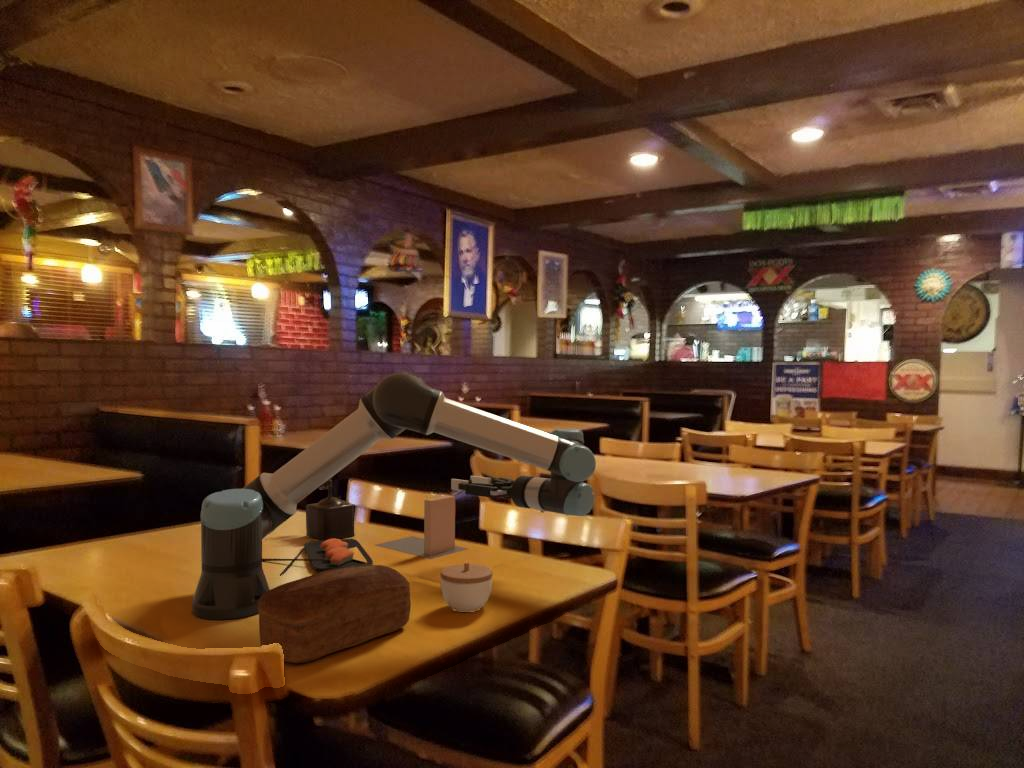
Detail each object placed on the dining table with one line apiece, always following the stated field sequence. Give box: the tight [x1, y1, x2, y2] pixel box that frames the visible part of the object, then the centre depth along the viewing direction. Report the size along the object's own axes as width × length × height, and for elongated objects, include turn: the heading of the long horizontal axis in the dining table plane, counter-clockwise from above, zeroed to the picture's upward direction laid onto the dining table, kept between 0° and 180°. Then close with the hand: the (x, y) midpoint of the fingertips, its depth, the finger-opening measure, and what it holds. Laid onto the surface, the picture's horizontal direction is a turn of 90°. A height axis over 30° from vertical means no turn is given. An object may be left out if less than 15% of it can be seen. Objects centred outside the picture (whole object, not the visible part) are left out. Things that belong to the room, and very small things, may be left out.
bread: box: [258, 564, 412, 664], centre depth 134 cm, size 14×28×12 cm, turn 140°
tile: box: [423, 495, 456, 555], centre depth 195 cm, size 2×9×14 cm, turn 141°
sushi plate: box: [262, 538, 374, 577], centre depth 189 cm, size 29×30×4 cm
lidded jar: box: [439, 562, 494, 612], centre depth 152 cm, size 11×11×9 cm
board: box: [375, 535, 469, 560], centre depth 200 cm, size 22×14×1 cm, turn 51°
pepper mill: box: [305, 477, 355, 541], centre depth 217 cm, size 16×11×18 cm
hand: (462, 482), depth 190 cm, fingers open, 6 cm apart
